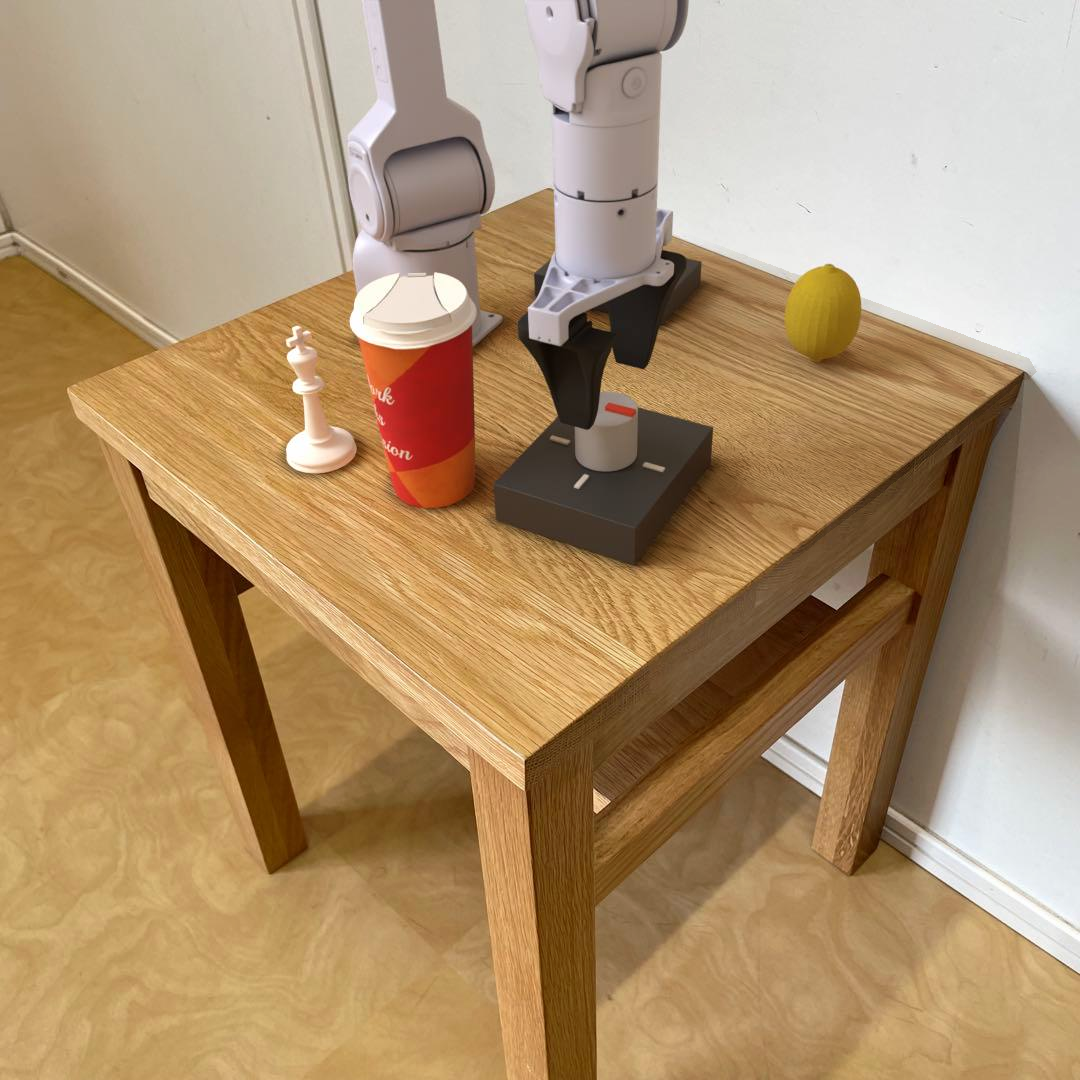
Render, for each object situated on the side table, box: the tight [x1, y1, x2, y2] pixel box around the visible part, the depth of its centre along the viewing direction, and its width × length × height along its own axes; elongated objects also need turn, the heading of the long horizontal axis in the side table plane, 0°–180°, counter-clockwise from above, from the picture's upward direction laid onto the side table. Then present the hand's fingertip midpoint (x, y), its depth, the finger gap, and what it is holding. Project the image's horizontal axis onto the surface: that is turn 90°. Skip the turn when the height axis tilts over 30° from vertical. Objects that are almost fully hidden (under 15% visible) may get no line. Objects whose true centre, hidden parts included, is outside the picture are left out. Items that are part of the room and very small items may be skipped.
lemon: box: [784, 263, 862, 363], centre depth 83 cm, size 6×6×8 cm
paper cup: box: [349, 272, 477, 509], centre depth 71 cm, size 8×8×14 cm
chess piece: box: [285, 325, 358, 474], centre depth 76 cm, size 5×5×10 cm
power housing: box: [533, 257, 703, 326], centre depth 95 cm, size 12×8×4 cm, turn 61°
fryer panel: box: [492, 406, 714, 566], centre depth 73 cm, size 10×12×3 cm
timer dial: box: [575, 391, 638, 472], centre depth 71 cm, size 4×4×4 cm
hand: (605, 392), depth 70 cm, fingers open, 7 cm apart
